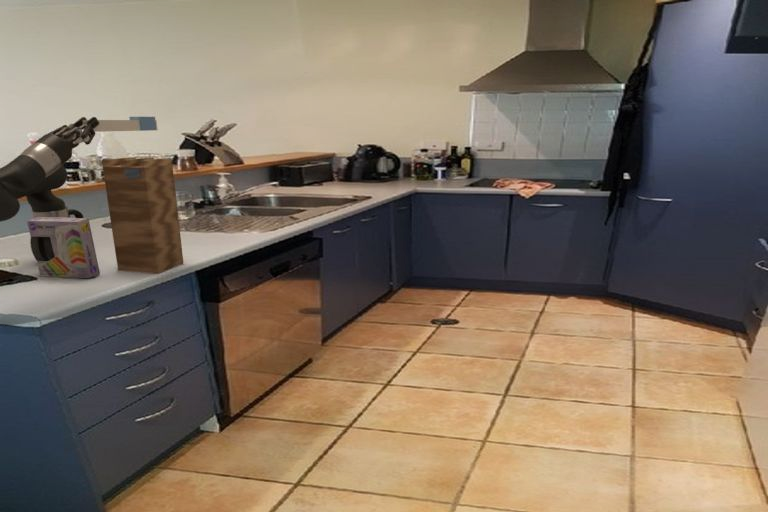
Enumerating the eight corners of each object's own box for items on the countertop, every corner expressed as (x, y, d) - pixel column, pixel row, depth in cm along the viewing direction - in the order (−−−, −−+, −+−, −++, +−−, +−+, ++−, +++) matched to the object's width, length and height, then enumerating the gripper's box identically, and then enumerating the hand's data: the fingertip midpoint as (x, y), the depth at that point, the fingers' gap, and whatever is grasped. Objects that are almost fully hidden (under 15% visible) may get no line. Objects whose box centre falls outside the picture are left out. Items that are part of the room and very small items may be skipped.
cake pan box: (34, 276, 153) (23, 218, 148) (49, 271, 157) (38, 215, 153) (88, 280, 148) (78, 221, 144) (101, 275, 153) (92, 217, 149)
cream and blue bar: (94, 131, 134) (91, 116, 133) (82, 131, 135) (79, 116, 134) (158, 130, 156) (157, 116, 155) (148, 130, 157) (146, 116, 156)
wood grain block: (156, 274, 153) (141, 160, 144) (116, 270, 158) (99, 160, 149) (183, 263, 165) (171, 157, 156) (145, 260, 169) (132, 157, 160)
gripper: (58, 143, 119) (104, 106, 130) (14, 143, 123) (63, 107, 134) (76, 169, 124) (119, 132, 135) (33, 168, 128) (79, 132, 139)
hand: (91, 120), depth 135 cm, fingers closed on cream and blue bar, 3 cm apart
